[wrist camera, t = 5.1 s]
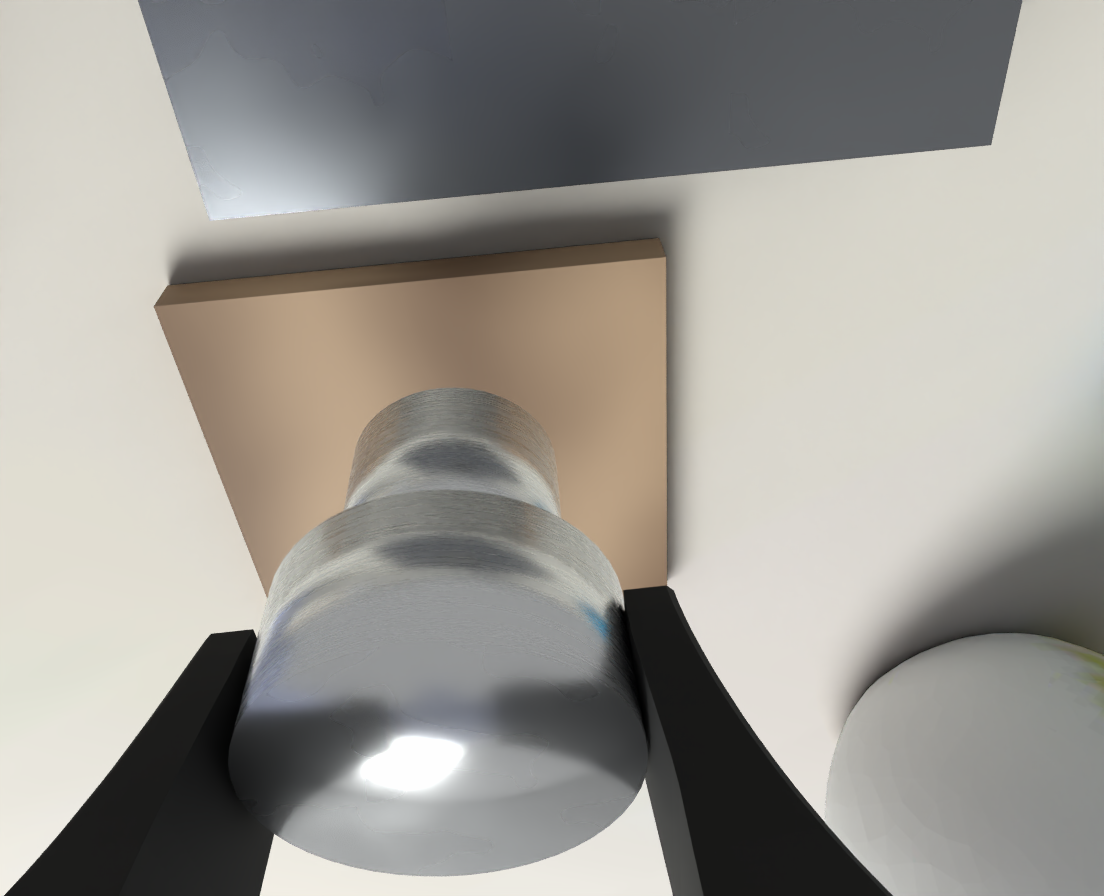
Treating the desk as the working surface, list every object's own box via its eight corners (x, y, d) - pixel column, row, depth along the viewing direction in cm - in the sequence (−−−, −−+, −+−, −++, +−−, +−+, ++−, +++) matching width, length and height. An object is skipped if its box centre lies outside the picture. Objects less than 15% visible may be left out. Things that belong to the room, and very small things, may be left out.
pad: (292, 621, 26) (286, 647, 26) (167, 285, 20) (153, 306, 19) (661, 586, 26) (666, 611, 26) (659, 237, 20) (665, 257, 19)
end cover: (341, 582, 17) (288, 890, 13) (272, 361, 14) (167, 664, 10) (604, 559, 18) (647, 858, 13) (595, 333, 14) (649, 621, 10)
